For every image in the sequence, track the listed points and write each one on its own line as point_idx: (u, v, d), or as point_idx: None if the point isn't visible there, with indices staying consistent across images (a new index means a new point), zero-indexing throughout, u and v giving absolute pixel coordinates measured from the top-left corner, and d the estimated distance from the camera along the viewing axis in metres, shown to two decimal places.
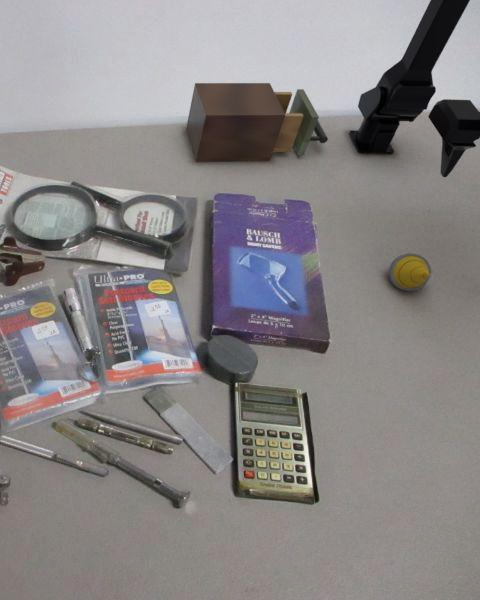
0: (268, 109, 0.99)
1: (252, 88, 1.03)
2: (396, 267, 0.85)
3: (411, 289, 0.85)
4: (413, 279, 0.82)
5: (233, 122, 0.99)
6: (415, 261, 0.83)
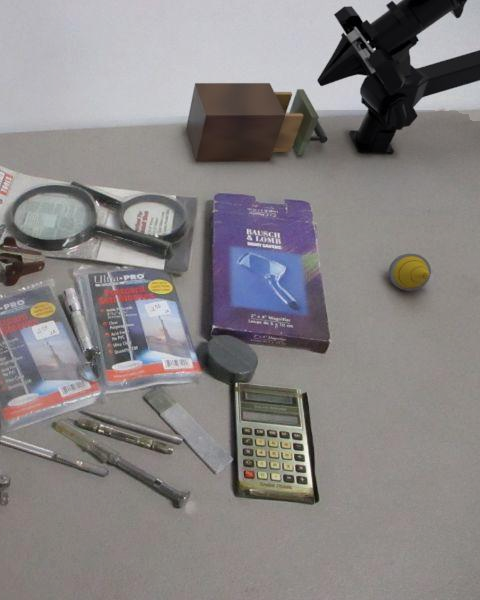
0: (268, 109, 0.99)
1: (252, 88, 1.03)
2: (396, 267, 0.85)
3: (411, 289, 0.85)
4: (413, 279, 0.82)
5: (233, 122, 0.99)
6: (415, 261, 0.83)
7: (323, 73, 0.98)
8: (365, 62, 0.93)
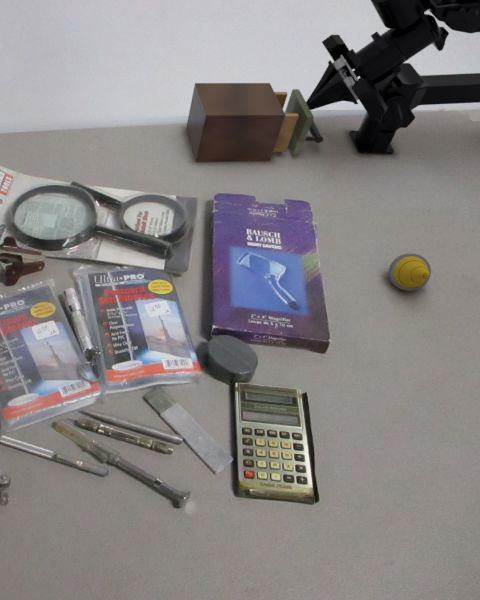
0: (268, 109, 0.99)
1: (252, 88, 1.03)
2: (396, 267, 0.85)
3: (411, 289, 0.85)
4: (413, 279, 0.82)
5: (233, 122, 0.99)
6: (415, 261, 0.83)
7: (310, 98, 1.02)
8: (350, 89, 0.97)
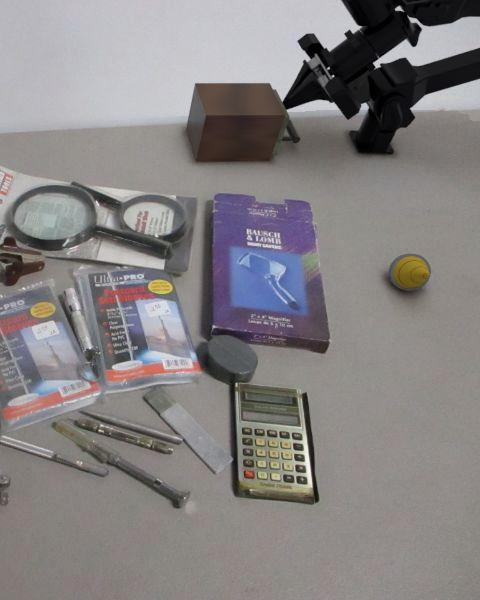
0: (268, 109, 0.99)
1: (252, 88, 1.03)
2: (396, 267, 0.85)
3: (411, 289, 0.85)
4: (413, 279, 0.82)
5: (233, 122, 0.99)
6: (415, 261, 0.83)
7: (286, 98, 1.02)
8: (324, 88, 0.96)
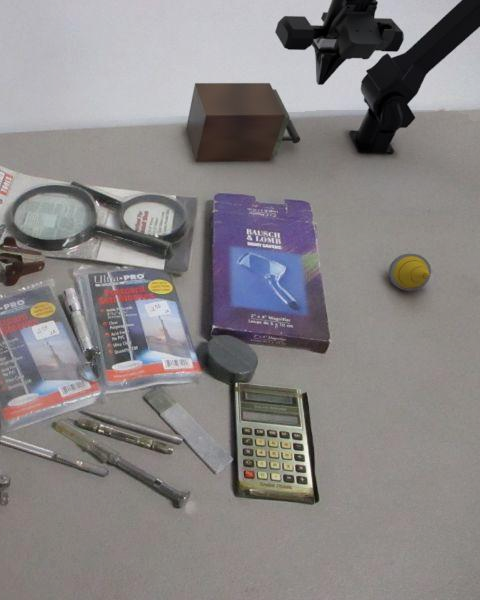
0: (268, 109, 0.99)
1: (252, 88, 1.03)
2: (396, 267, 0.85)
3: (411, 289, 0.85)
4: (413, 279, 0.82)
5: (233, 122, 0.99)
6: (415, 261, 0.83)
7: None
8: (313, 40, 0.94)
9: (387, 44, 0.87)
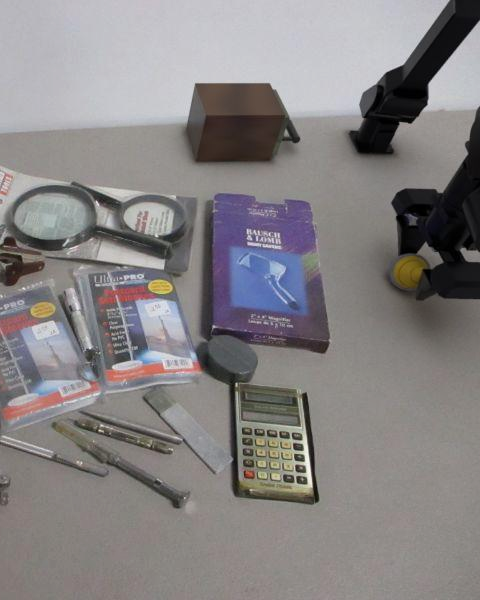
0: (268, 109, 0.99)
1: (252, 88, 1.03)
2: (396, 267, 0.85)
3: (411, 289, 0.85)
4: (413, 278, 0.82)
5: (233, 122, 0.99)
6: (415, 261, 0.83)
7: None
8: None
9: None
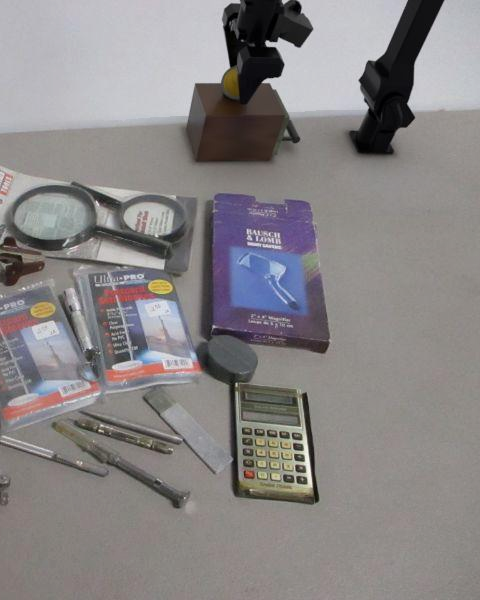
0: (268, 109, 0.99)
1: None
2: (225, 77, 0.99)
3: (238, 97, 0.99)
4: (234, 82, 0.96)
5: (233, 122, 0.99)
6: None
7: (230, 66, 1.01)
8: None
9: None
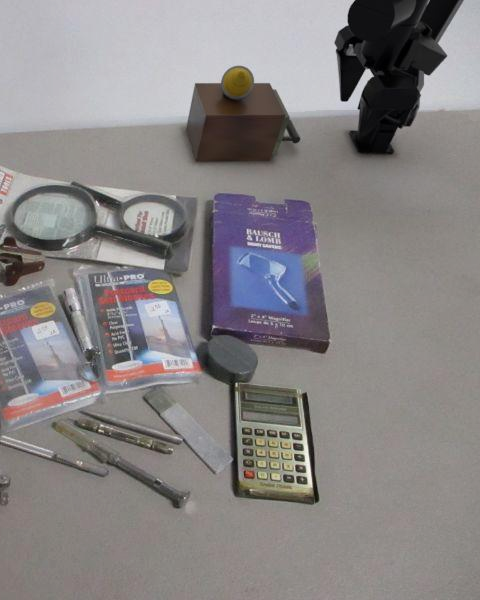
0: (268, 109, 0.99)
1: (252, 88, 1.03)
2: (225, 77, 0.99)
3: (238, 97, 0.99)
4: (234, 82, 0.96)
5: (233, 122, 0.99)
6: (237, 68, 0.97)
7: (340, 93, 0.94)
8: None
9: None
